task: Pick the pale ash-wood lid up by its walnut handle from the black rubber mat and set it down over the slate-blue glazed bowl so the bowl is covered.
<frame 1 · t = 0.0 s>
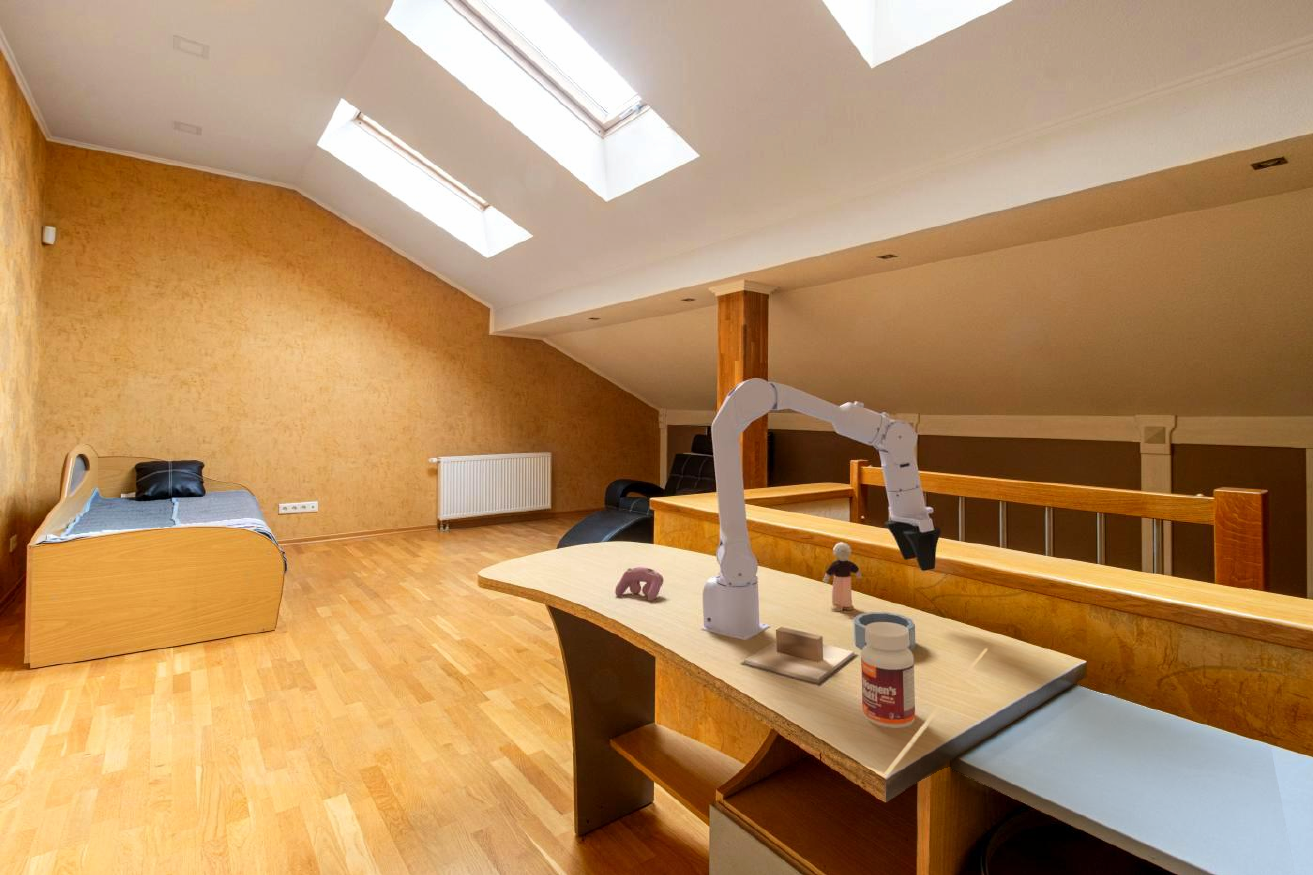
hand: (918, 563, 109), 11 cm above the table, tool pointing down, fingers open, 7 cm apart
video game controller: (640, 596, 133), on the table
mat: (799, 661, 95), on the table
pill bottle: (888, 719, 78), on the table
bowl: (884, 646, 100), on the table
grandmother figurine: (844, 609, 119), on the table
lid: (799, 659, 95), resting on mat
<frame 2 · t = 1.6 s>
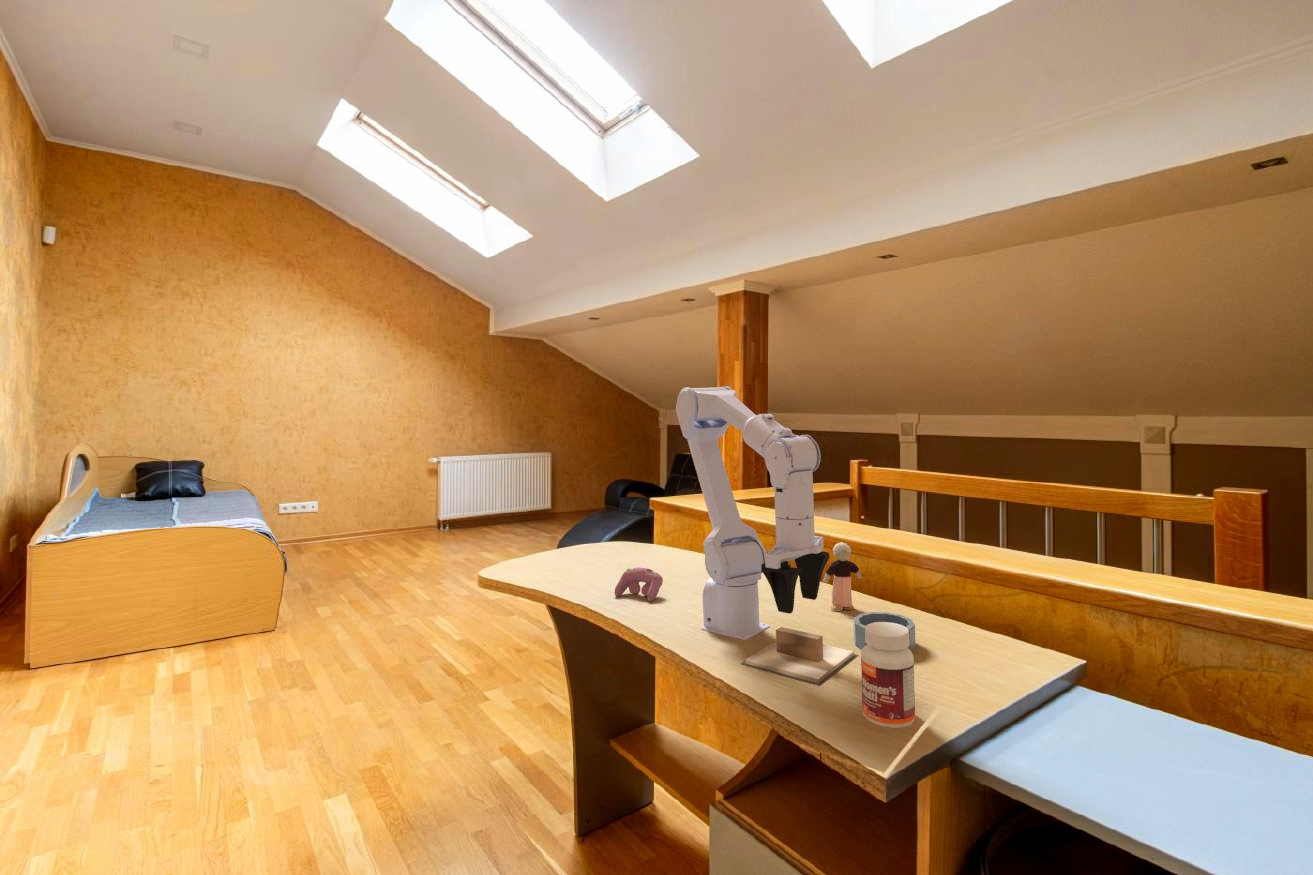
hand: (797, 605, 95), 9 cm above the table, tool pointing down, fingers open, 7 cm apart
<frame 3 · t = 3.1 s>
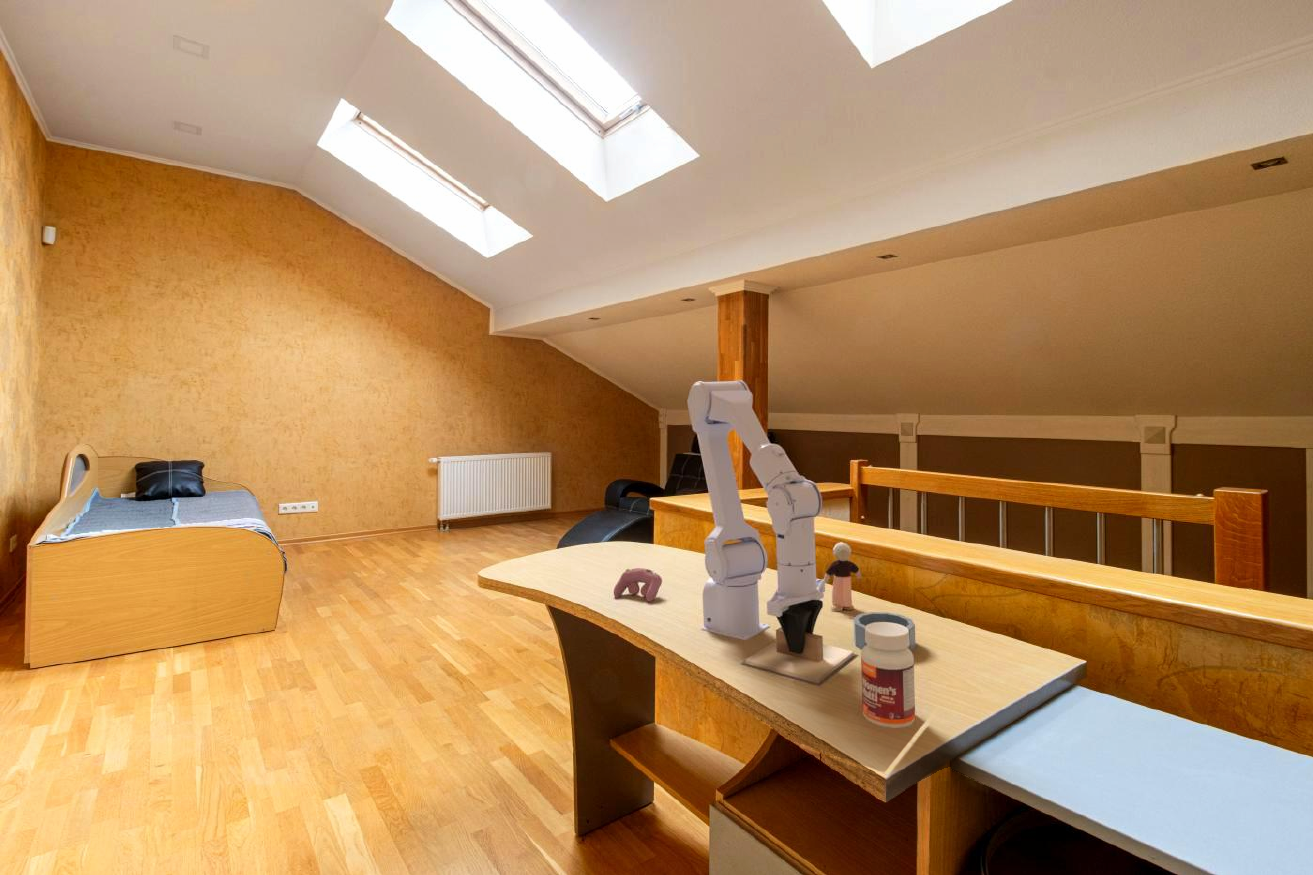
hand: (799, 649, 95), 2 cm above the table, tool pointing down, fingers closed on lid, 2 cm apart
lid: (799, 659, 95), resting on mat, touching gripper
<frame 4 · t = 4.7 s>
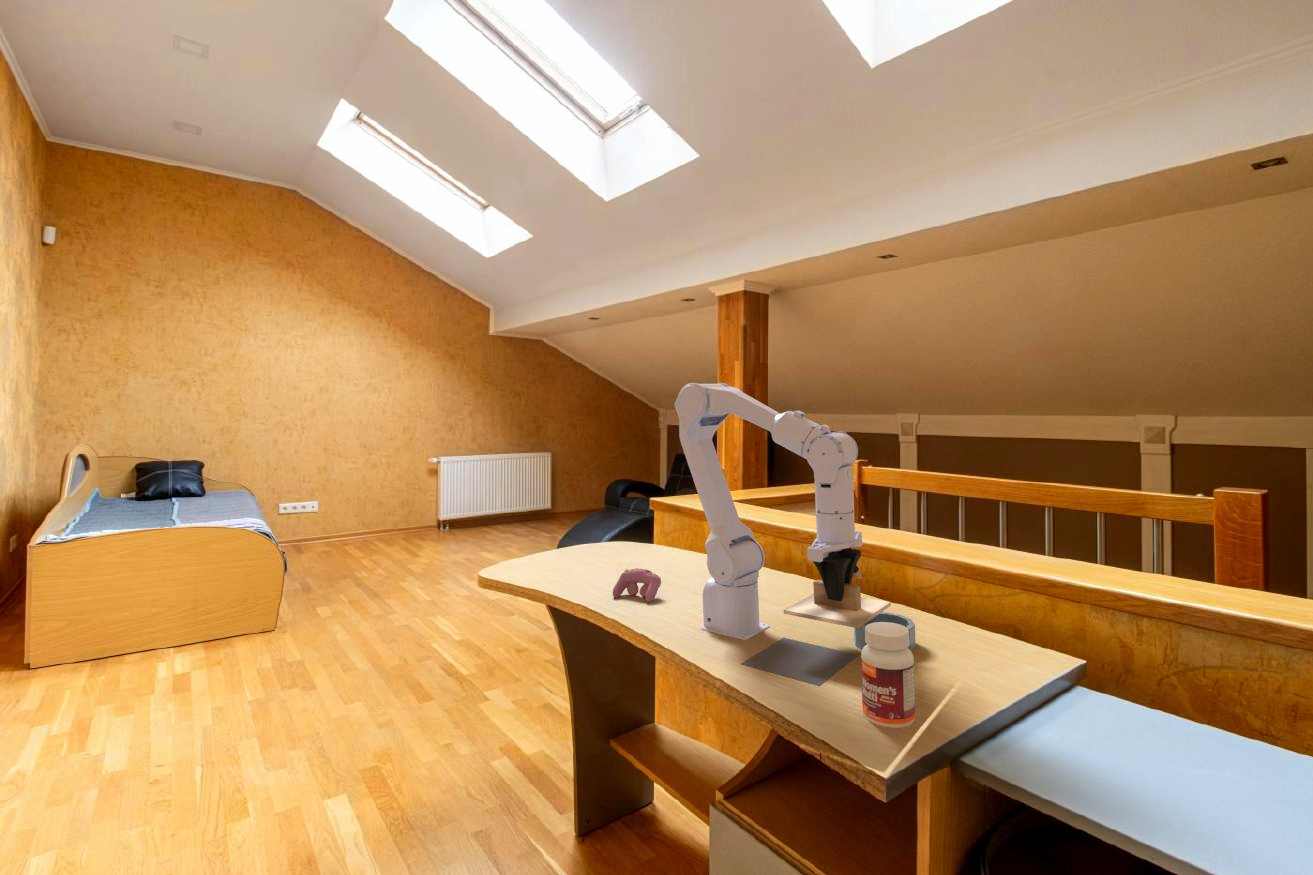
hand: (838, 597, 97), 9 cm above the table, tool pointing down, fingers closed on lid
lid: (837, 609, 97), point 7 cm above the table, touching gripper
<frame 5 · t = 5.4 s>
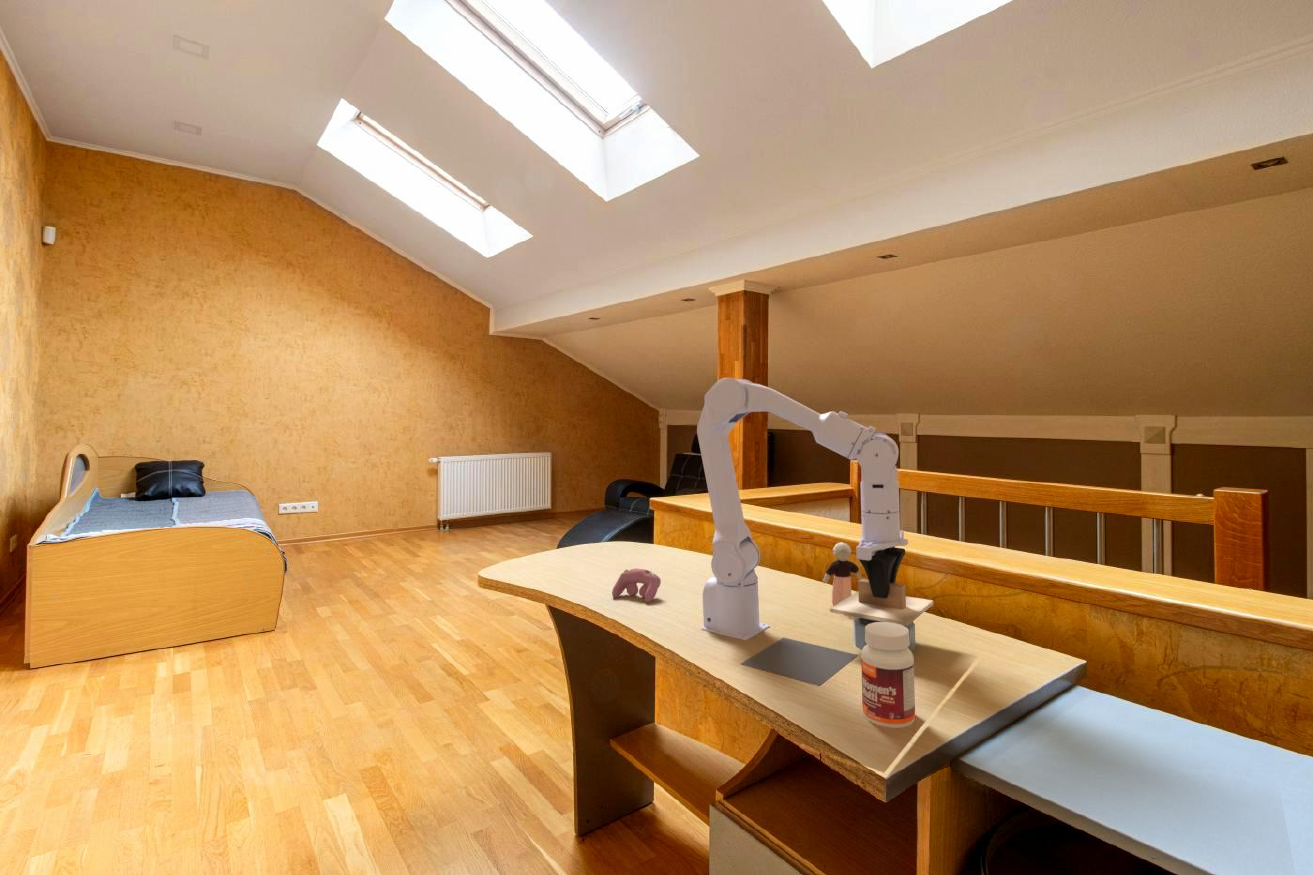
hand: (882, 595, 100), 8 cm above the table, tool pointing down, fingers closed on lid, 2 cm apart
lid: (882, 608, 100), point 6 cm above the table, touching gripper
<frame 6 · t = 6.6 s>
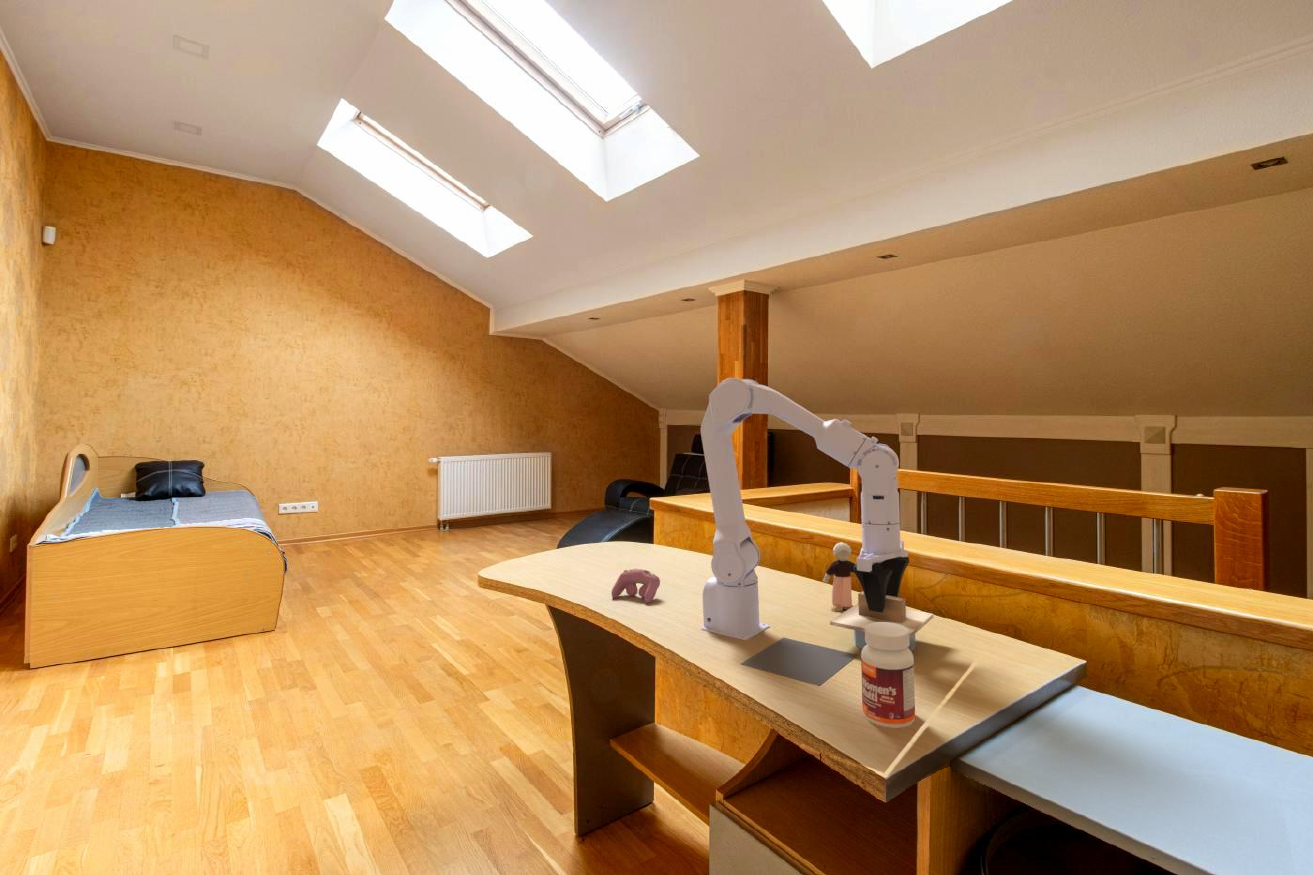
hand: (883, 606, 100), 7 cm above the table, tool pointing down, fingers open, 5 cm apart
lid: (882, 621, 100), point 4 cm above the table, touching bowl
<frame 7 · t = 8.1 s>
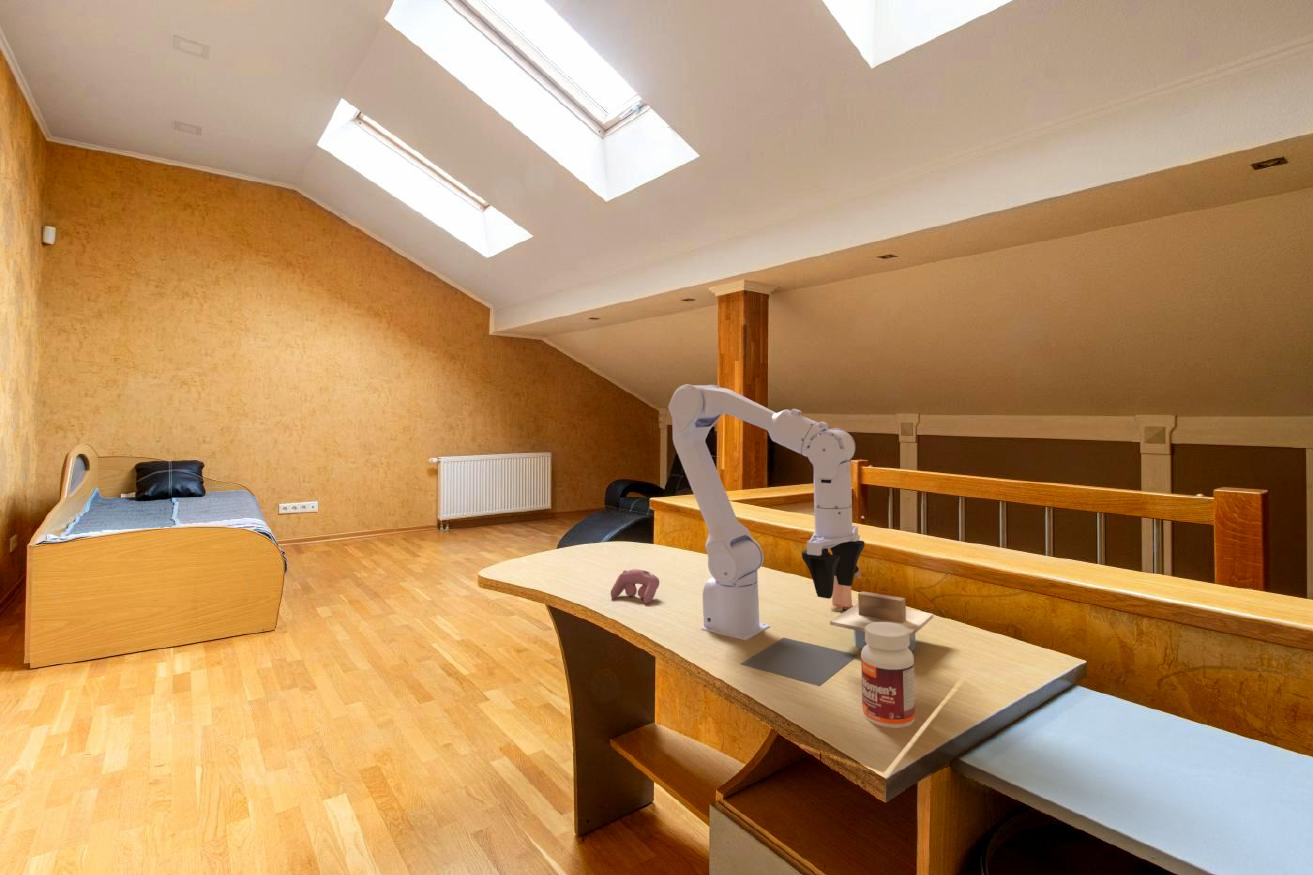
hand: (835, 590, 99), 9 cm above the table, tool pointing down, fingers open, 7 cm apart
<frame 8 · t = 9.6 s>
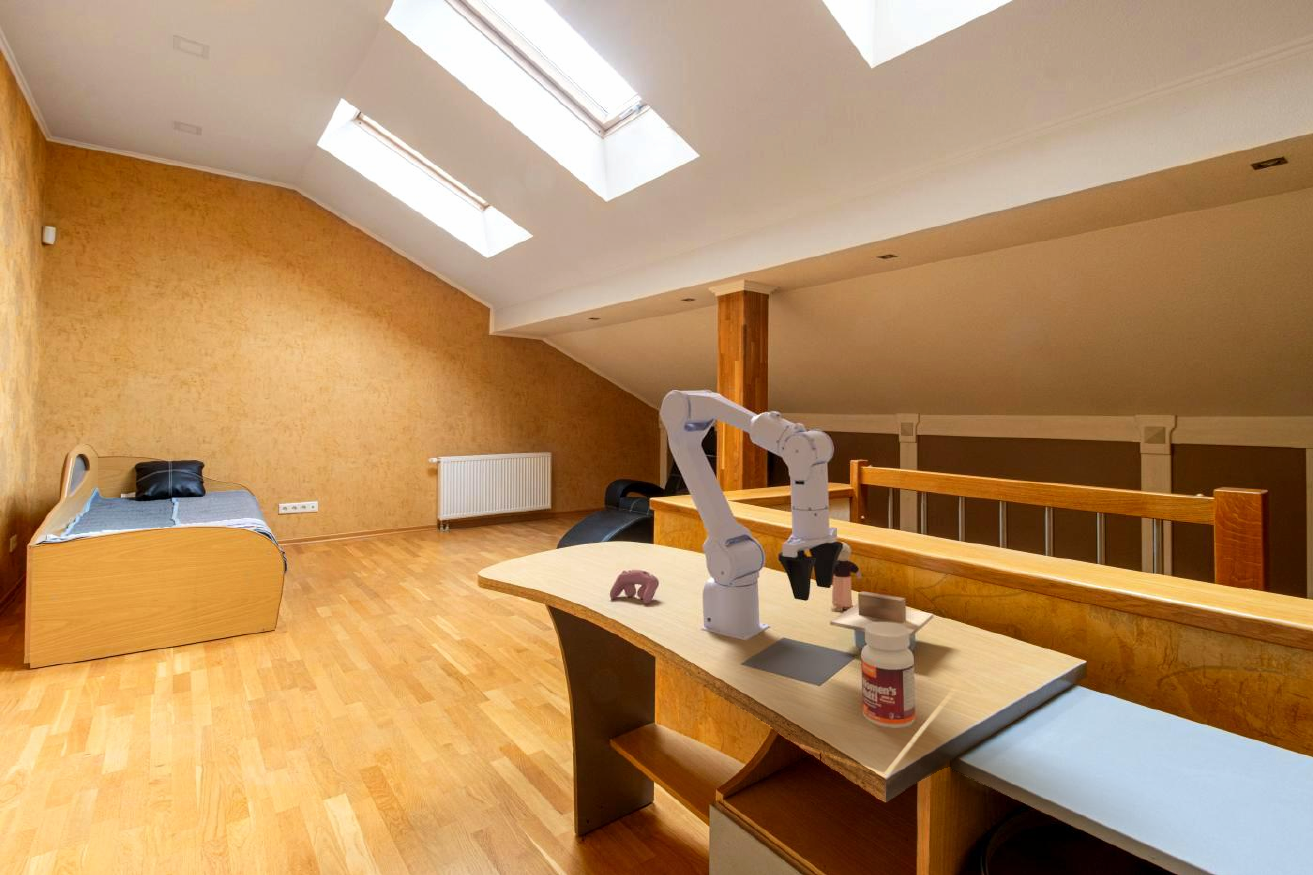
hand: (812, 592, 99), 9 cm above the table, tool pointing down, fingers open, 7 cm apart
at the end: lid 0.2 cm off-centre on the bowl, point 4.0 cm above the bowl's base; lid tilted 0°; the gripper is holding nothing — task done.
